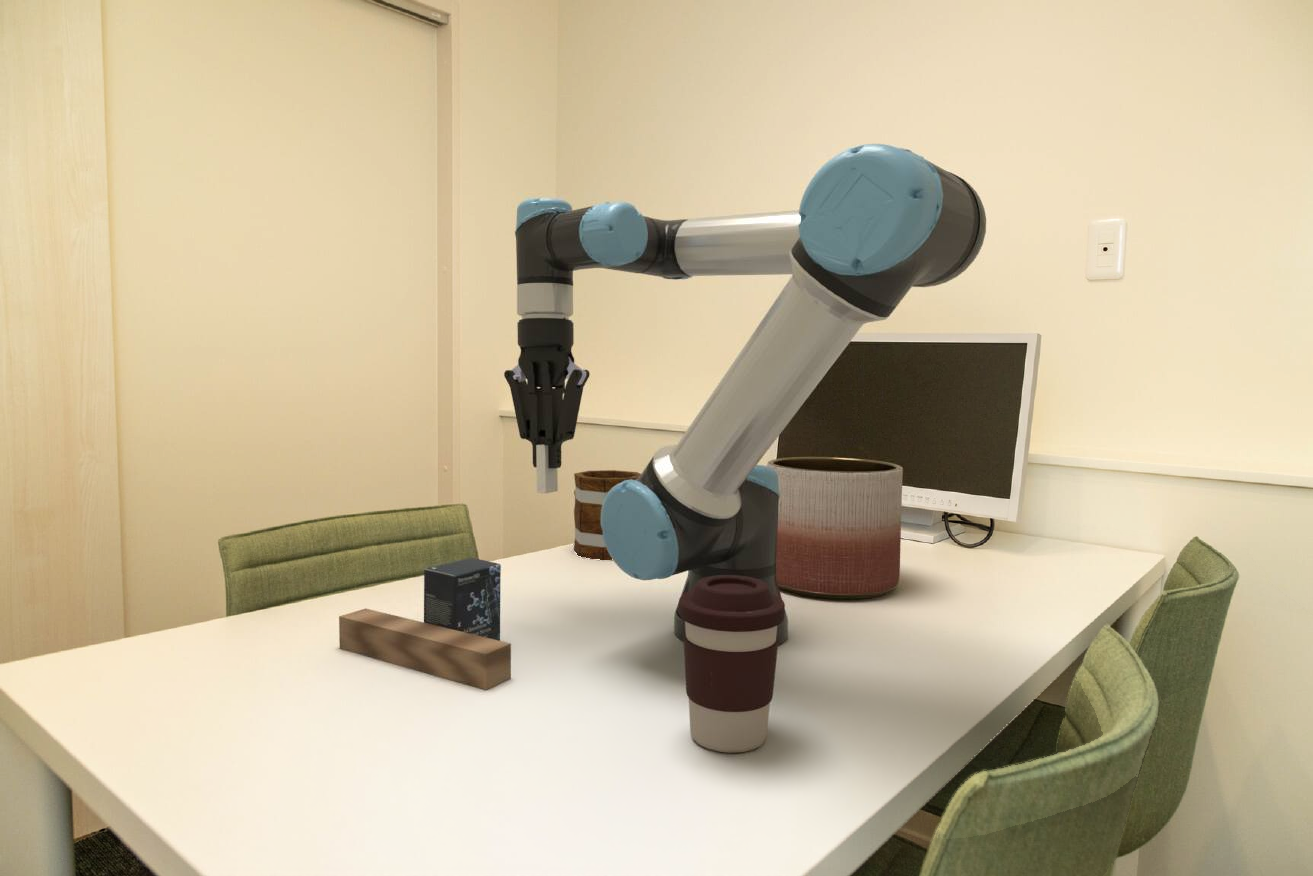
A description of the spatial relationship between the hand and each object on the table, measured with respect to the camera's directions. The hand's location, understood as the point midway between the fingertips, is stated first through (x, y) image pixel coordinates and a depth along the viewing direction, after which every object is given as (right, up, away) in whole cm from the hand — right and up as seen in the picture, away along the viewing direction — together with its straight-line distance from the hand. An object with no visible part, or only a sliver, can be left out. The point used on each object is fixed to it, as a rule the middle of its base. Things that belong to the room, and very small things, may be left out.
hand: (547, 491), depth 110 cm
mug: (+8, -15, +41) cm, 44 cm away
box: (-9, -19, -10) cm, 23 cm away
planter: (+44, -17, +23) cm, 52 cm away
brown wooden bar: (-13, -19, -15) cm, 28 cm away
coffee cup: (+22, -21, -33) cm, 45 cm away
